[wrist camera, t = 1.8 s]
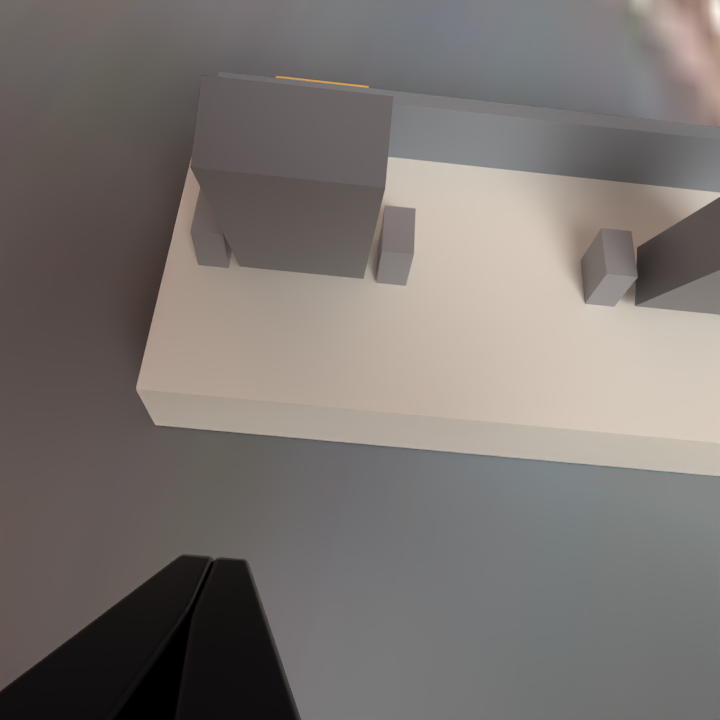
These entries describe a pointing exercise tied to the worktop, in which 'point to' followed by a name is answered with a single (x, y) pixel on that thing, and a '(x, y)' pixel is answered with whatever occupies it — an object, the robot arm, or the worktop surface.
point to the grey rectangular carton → (293, 172)
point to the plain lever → (682, 265)
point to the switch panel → (463, 300)
